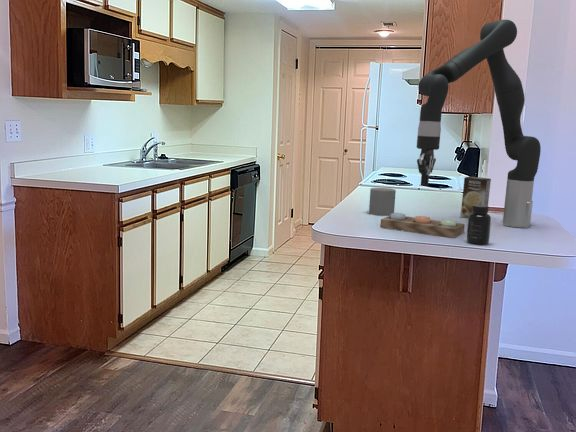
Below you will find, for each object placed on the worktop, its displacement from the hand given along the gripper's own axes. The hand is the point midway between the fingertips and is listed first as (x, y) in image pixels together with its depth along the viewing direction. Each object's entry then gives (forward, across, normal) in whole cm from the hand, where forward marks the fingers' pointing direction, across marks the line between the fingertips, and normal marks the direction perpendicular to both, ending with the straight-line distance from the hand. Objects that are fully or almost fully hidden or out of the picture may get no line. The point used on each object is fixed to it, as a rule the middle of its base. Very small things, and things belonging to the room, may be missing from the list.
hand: (424, 185), depth 199 cm
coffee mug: (+16, +23, +25) cm, 37 cm away
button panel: (+16, 0, 0) cm, 16 cm away
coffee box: (+15, +39, -8) cm, 43 cm away
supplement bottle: (+16, -8, -22) cm, 28 cm away
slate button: (+14, 0, +9) cm, 16 cm away
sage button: (+14, 0, -9) cm, 17 cm away
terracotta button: (+14, 0, 0) cm, 14 cm away
